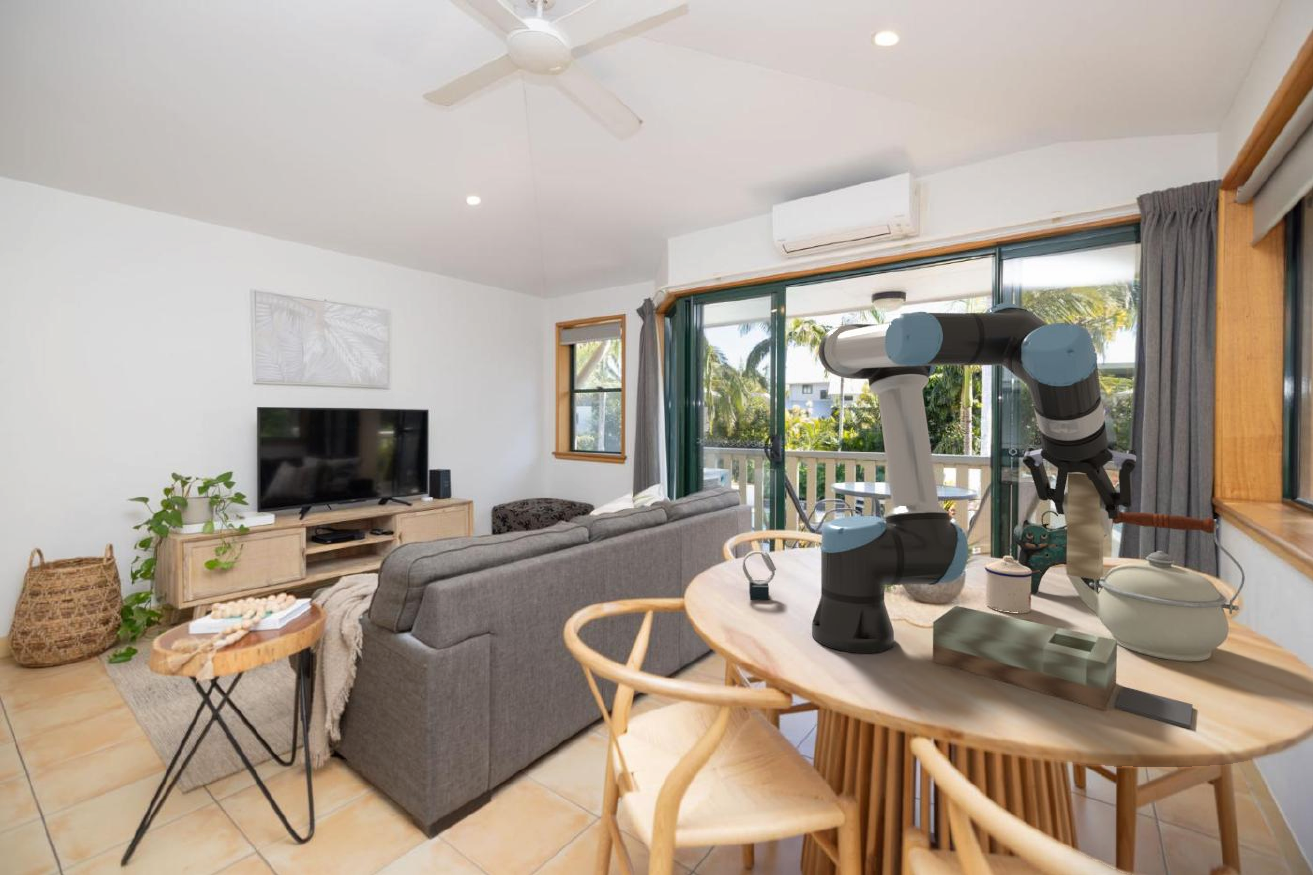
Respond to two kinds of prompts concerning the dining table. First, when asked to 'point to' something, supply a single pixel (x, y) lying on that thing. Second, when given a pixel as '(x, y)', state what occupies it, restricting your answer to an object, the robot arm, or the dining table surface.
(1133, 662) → the dining table surface
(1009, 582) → the teacup with lid
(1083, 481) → the wooden block
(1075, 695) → the green block with hole
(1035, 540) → the ceramic cat
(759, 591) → the watch
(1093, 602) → the kettle
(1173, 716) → the rubber mat
